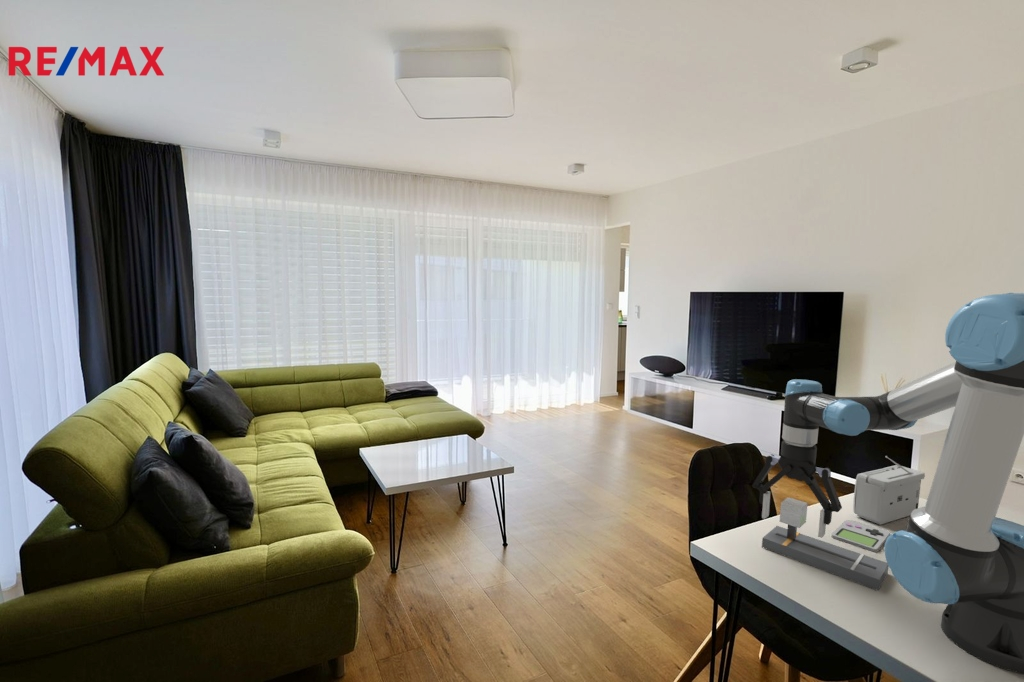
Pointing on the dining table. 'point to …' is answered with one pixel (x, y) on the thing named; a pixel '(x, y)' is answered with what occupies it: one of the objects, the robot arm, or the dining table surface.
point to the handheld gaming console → (861, 535)
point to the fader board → (828, 557)
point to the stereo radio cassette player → (887, 493)
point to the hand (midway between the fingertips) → (792, 525)
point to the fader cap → (793, 515)
